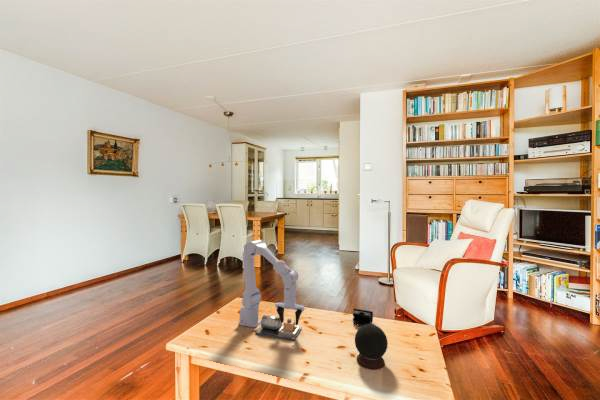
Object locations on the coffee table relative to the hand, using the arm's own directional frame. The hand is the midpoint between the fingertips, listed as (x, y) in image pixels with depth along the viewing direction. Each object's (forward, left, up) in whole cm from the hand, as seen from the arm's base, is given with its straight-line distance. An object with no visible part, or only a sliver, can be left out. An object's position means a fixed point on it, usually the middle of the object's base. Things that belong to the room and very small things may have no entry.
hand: (289, 323), depth 142 cm
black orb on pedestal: (+40, -12, -5) cm, 42 cm away
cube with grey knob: (0, 0, -4) cm, 4 cm away
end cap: (+34, +24, -5) cm, 42 cm away
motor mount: (-5, 0, -5) cm, 7 cm away
